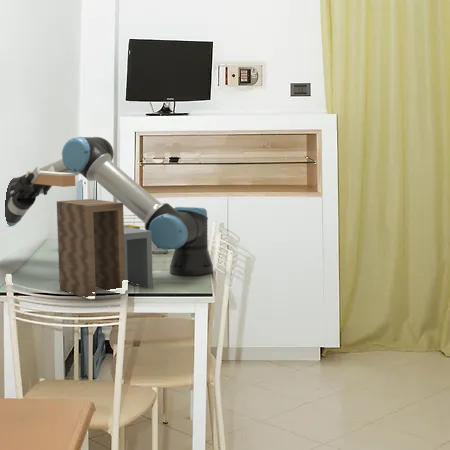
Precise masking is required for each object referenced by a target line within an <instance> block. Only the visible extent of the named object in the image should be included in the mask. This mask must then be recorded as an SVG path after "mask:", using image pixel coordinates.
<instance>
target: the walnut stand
mask: <svg viewBox="0 0 450 450" xmlns="http://www.w3.org/2000/svg"><path fill="white" fill-rule="evenodd" d="M124 217H125V216H124V205H123V203H121V202H120V201H119V202H118V201H110V200H102V199H101V200H100V199H96V198H94V199H93V198H85V199H71V200H57V201H56V219H57V220H56V221H57V222H56V223H57V225H56V226H57V247H58V248H57V249H58V250H57V252H58V273H59V274H58V277H59V290H61V291H63V292H66V291H67V293H69V292H71V293H70V294H72V293H73V294H72V295H75V296H78V297H81V296H85V297H88V296H96V297H97V289H100V290H103V291H106V290H110V289H116V288H122V281H123V280H125V255H124V225H125V224H124V223H125V222H124V219H125V218H124ZM92 292H96V294H93V293H92ZM114 294H116V295H119V294H120V293H114Z"/></svg>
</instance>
